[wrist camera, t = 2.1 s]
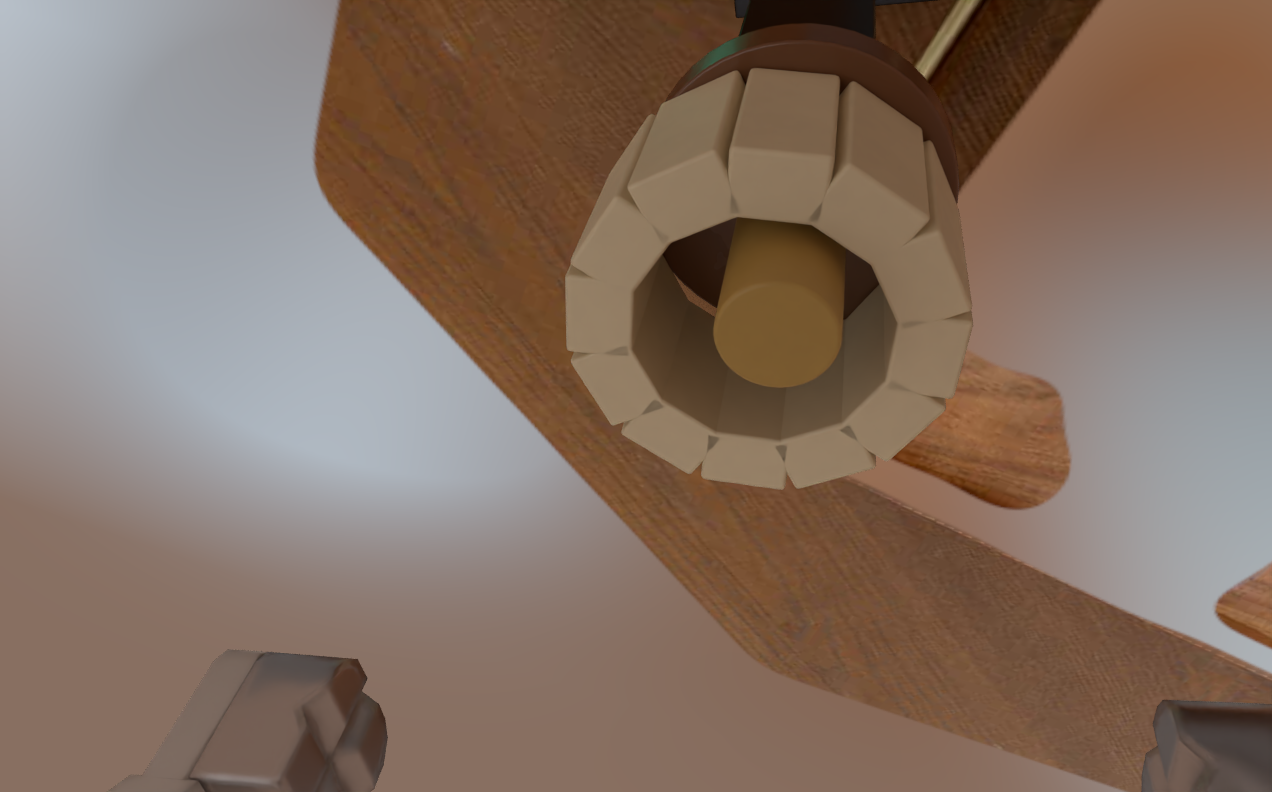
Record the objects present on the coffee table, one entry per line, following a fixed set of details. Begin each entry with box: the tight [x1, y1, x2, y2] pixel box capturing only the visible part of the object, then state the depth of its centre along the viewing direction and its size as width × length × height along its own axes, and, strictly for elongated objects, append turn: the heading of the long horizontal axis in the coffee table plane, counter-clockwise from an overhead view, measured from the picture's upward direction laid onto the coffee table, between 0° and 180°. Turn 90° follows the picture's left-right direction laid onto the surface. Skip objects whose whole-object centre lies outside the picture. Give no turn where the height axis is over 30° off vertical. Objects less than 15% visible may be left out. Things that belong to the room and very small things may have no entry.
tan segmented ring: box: [565, 68, 973, 490], centre depth 19 cm, size 7×7×4 cm
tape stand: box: [663, 0, 959, 388], centre depth 28 cm, size 8×8×31 cm
